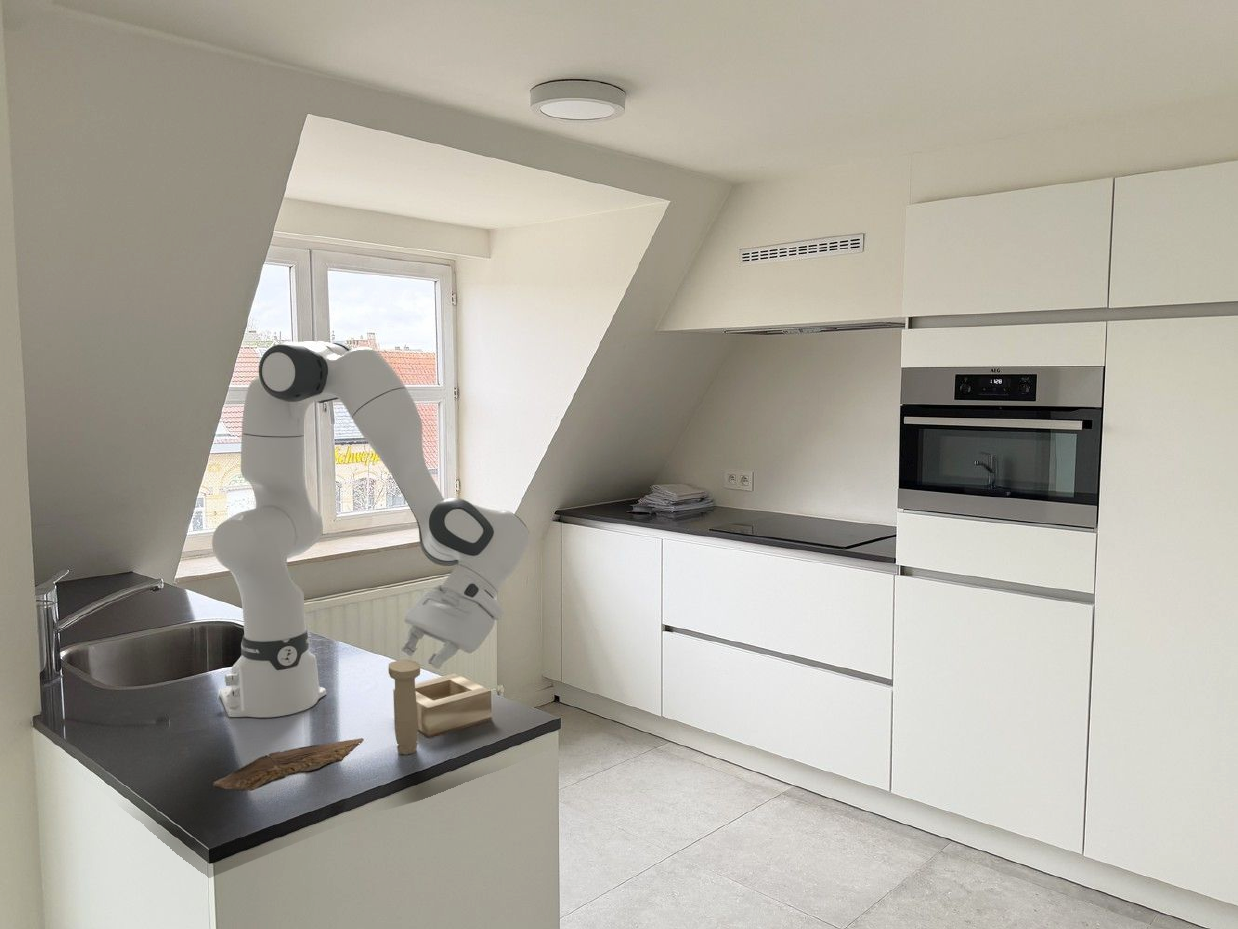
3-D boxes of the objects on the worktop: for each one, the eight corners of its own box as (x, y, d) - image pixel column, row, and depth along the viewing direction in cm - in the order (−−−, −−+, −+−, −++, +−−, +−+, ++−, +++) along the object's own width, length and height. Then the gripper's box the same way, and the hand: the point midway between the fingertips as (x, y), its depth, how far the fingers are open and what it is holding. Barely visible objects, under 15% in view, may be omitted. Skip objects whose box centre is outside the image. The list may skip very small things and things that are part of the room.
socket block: (394, 718, 172) (393, 689, 171) (455, 701, 180) (454, 673, 180) (428, 738, 162) (427, 707, 161) (491, 720, 170) (491, 690, 170)
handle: (400, 761, 153) (397, 673, 151) (387, 748, 158) (383, 663, 156) (427, 754, 155) (425, 668, 154) (414, 742, 161) (411, 658, 159)
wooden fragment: (226, 800, 140) (226, 793, 140) (202, 777, 148) (202, 770, 148) (381, 752, 157) (381, 746, 157) (352, 734, 166) (352, 728, 166)
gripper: (425, 573, 168) (378, 636, 163) (487, 593, 153) (436, 663, 148) (448, 593, 172) (402, 655, 166) (510, 614, 156) (461, 684, 151)
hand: (418, 659), depth 157 cm, fingers open, 8 cm apart
